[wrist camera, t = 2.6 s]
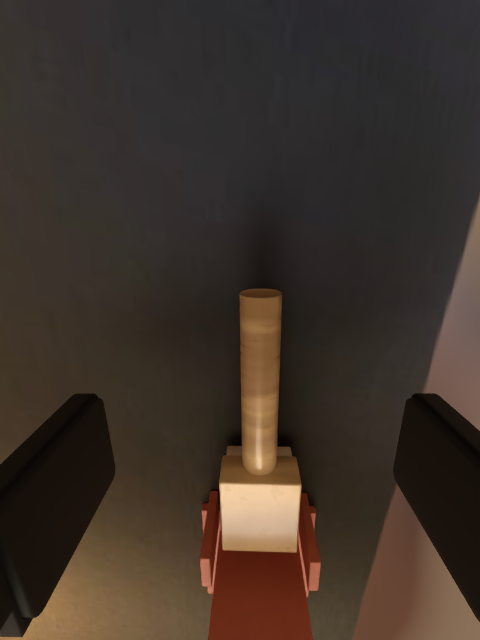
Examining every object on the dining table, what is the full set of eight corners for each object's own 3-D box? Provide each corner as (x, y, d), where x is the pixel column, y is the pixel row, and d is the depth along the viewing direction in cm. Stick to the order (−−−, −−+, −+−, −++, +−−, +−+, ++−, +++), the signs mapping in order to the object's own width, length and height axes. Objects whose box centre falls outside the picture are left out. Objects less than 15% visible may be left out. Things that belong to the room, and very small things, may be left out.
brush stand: (201, 490, 20) (179, 608, 14) (315, 492, 20) (344, 614, 14) (208, 584, 23) (193, 715, 17) (306, 588, 23) (327, 723, 17)
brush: (217, 286, 15) (209, 300, 12) (302, 286, 15) (314, 300, 12) (226, 503, 20) (222, 551, 17) (290, 505, 19) (297, 553, 17)
